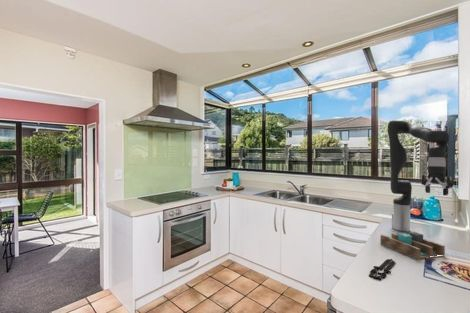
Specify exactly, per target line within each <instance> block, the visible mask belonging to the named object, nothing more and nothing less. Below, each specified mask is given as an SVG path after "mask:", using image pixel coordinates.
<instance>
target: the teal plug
mask: <svg viewBox="0 0 470 313" xmlns="http://www.w3.org/2000/svg"><path fill="white" fill-rule="evenodd" d="M405 233H406V232H402V233H398V234H397V235H398V241H401V242H404V243H406V244H409V245H412V236H410V235H408V234H409V233H408V234H405Z"/></svg>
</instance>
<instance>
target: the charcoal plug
mask: <svg viewBox="0 0 470 313" xmlns="http://www.w3.org/2000/svg"><path fill="white" fill-rule="evenodd" d="M409 234H410V236H412V240H414V241H416V242H419V243H422V244H423V239H424V234H422V233H419V232H416V231H414V232H409Z"/></svg>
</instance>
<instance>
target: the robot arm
mask: <svg viewBox="0 0 470 313" xmlns="http://www.w3.org/2000/svg"><path fill="white" fill-rule="evenodd" d="M399 134H400V135H401V134H405V135H406V134H408V135H411V136H412V137H414V138H417V139H420V140H423V141H424V142H427V143H431V144H435V146H433V147H429V149H428V159H427V160H428V161H427V174H428V175H427V174H422V175H421V185H422V186H424V187H425V188H424V191H425V193H427V194H430V193H431V185H433V184H439V185H440V186H441V187H442V195H443V196H448V195H449V189H453V188H454V185H453V184H454V183H453V182H454V178H453V176H446V173H447V172H446V171H447V170H446V169H447V168H446V167H447V166H446V163H447V162H446V149H447V146H448V144H449V141H450V134H449V133H448V131H446V130H432V129H431V128H428V127H424V126H419V125H415V124H412V123H411V122H410V123H409V122H408V121H405V120H398V119H396V120H393V119H392V120H390V121H389V122H388V123H387V135H388V140H389V141H388V142H389V157H390V160H389V161H390V191H391V193H392V194H394V195H395V194H396V195H401V196H399V197H397V198H396V197H395V198H393V201H392V202H393V203H392V204H393V208H392V209H393V211H392V214H391V228H392V229H393V230H396V231H400V232H410V231H411V201H412V193H413V192H412V190H413V189H412V183H411V182H410V181H409V180H399V175H400V173H401V171H402V169H403V168H404V167H405V165H406V163H407V161H408V157H407V156H408V155H407V151H406V148H405V147H404V145H403V144H402V143H401V141H400V139H399ZM445 180H446V181H445Z"/></svg>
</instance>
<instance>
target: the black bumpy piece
mask: <svg viewBox="0 0 470 313" xmlns="http://www.w3.org/2000/svg"><path fill="white" fill-rule="evenodd" d="M395 264H396V261H395V260H393V259H392V258H390V259H389V258H387V259H385V260H384V261H383V262H382V263H381V264H380V265H379V266H377V265H375V266H373V268H372V269H370V271H369V274H368V277H370V278H372V279H374V280H377V281H382V279H385V278H386V277H387V274H389V275H391V274H392V271H390V270H391V269H392V268H393V267H394V265H395ZM379 271H383V272H379Z"/></svg>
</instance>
